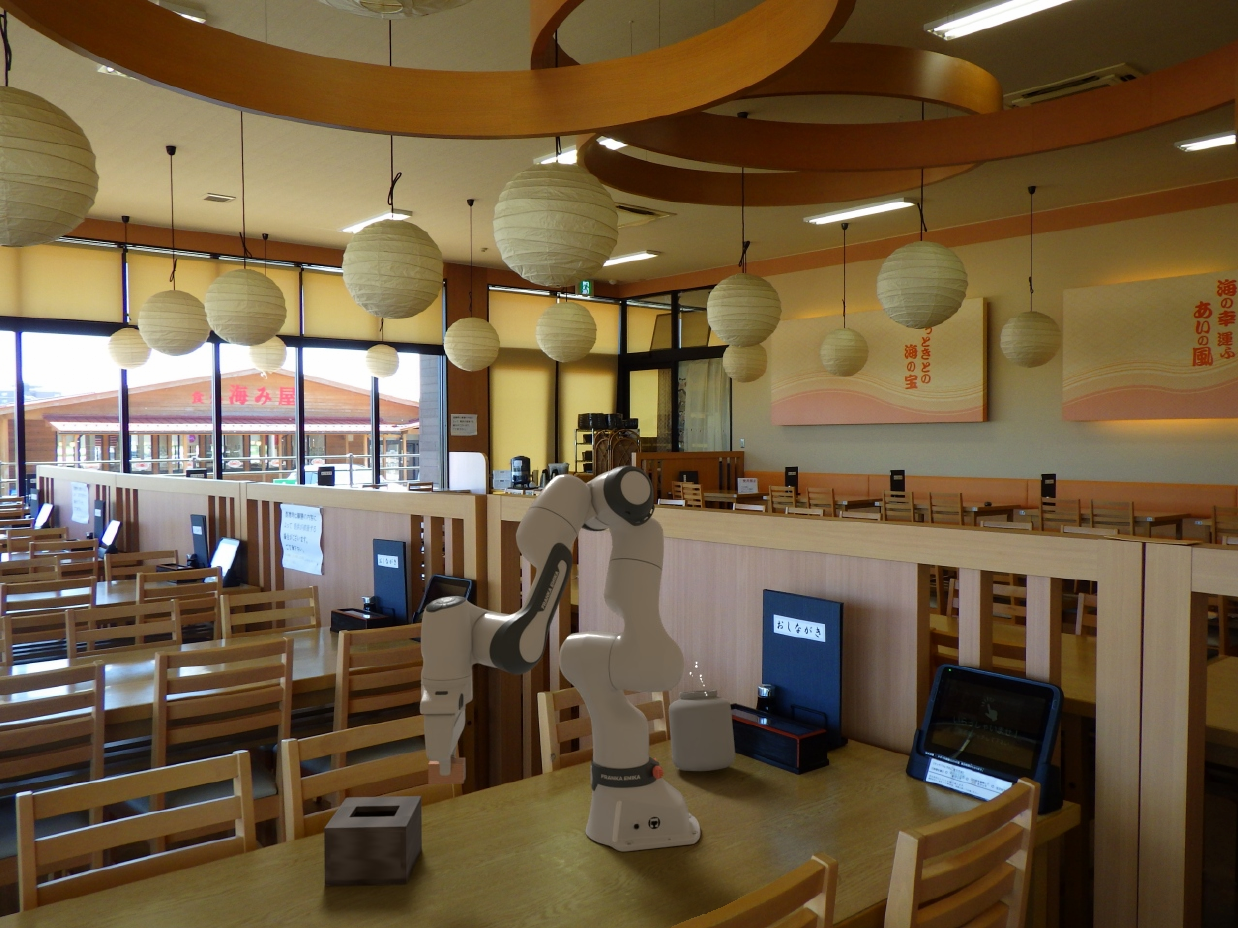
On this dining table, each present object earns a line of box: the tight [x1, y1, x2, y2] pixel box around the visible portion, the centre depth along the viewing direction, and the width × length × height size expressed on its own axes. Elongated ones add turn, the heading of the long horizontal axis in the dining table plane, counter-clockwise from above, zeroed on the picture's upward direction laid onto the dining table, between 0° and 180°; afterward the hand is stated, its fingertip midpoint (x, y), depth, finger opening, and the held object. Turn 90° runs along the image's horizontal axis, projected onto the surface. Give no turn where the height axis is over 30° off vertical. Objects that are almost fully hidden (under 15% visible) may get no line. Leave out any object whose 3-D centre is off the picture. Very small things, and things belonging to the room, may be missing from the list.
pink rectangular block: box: [427, 757, 467, 785], centre depth 155 cm, size 6×3×4 cm, turn 92°
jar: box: [668, 661, 736, 772], centre depth 210 cm, size 19×15×25 cm
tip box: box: [323, 795, 423, 887], centre depth 159 cm, size 14×14×10 cm
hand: (447, 769), depth 155 cm, fingers closed on pink rectangular block, 3 cm apart
